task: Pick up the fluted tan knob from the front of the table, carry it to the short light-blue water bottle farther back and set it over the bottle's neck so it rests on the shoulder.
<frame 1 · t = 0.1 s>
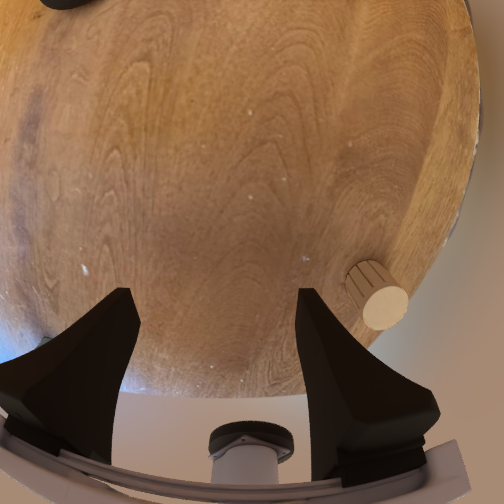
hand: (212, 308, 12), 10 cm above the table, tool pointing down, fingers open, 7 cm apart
fluted tan knob: (365, 280, 22), on the table
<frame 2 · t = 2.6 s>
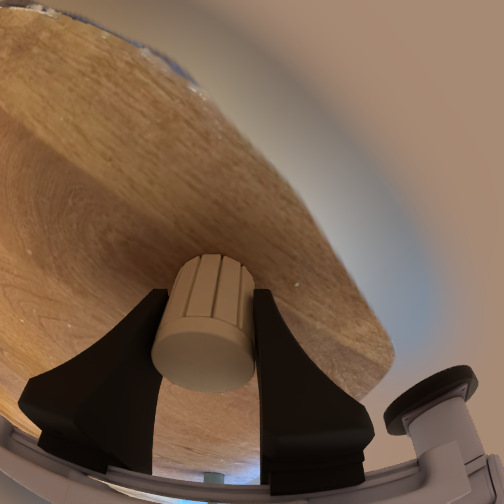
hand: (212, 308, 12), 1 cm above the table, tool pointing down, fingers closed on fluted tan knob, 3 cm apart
bottle: (214, 474, 30), on the table
fluted tan knob: (215, 287, 13), on the table, touching gripper
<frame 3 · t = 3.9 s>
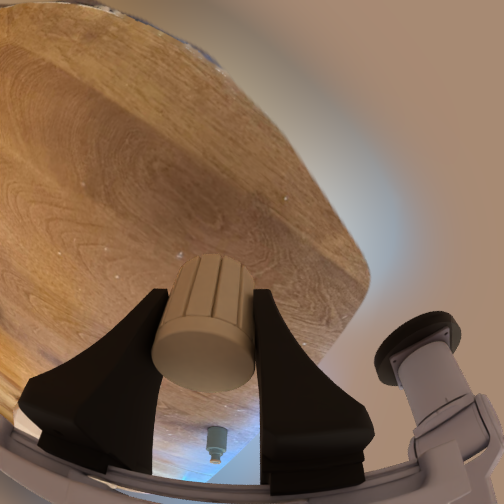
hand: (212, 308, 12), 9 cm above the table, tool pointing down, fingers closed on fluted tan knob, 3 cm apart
bottle: (217, 430, 35), on the table
fluted tan knob: (215, 287, 13), point 7 cm above the table, touching gripper
crystal: (60, 426, 43), on the table
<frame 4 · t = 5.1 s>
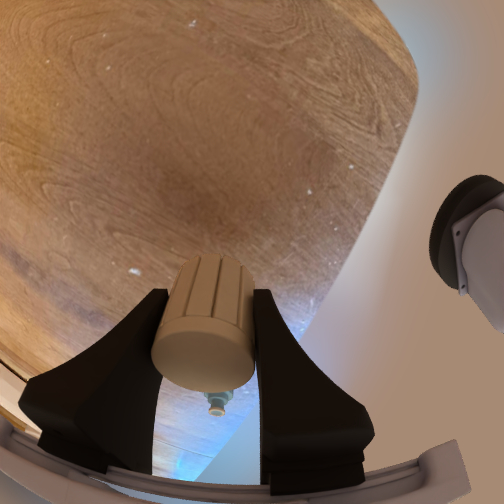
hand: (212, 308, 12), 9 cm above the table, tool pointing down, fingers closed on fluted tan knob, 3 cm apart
bottle: (220, 367, 28), on the table
fluted tan knob: (215, 287, 13), point 7 cm above the table, touching gripper
crystal: (30, 388, 36), on the table
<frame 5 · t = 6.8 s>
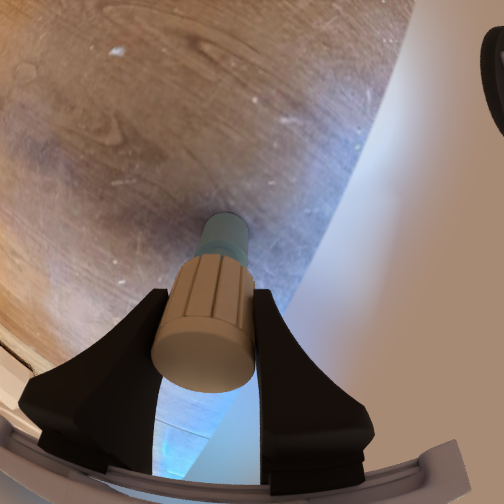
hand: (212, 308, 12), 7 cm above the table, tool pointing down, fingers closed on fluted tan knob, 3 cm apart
bottle: (226, 233, 18), on the table
fluted tan knob: (215, 287, 13), point 6 cm above the table, touching gripper
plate: (38, 425, 44), on the table
when the fingers open (5 cm above the table, at t = 7.8 s): fluted tan knob stays where it is, resting on bottle.
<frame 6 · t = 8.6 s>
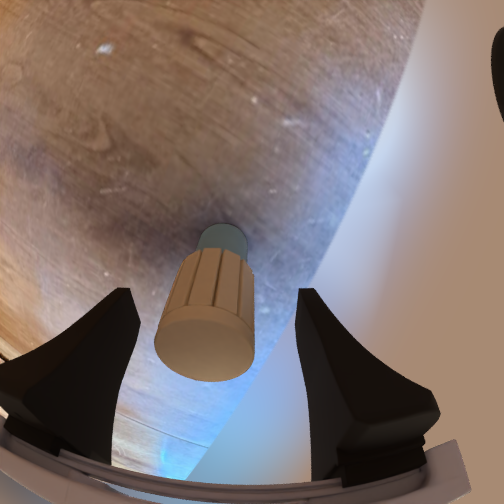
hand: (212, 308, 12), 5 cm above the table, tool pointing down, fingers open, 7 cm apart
bottle: (223, 245, 16), on the table
fluted tan knob: (215, 280, 13), point 3 cm above the table, touching bottle
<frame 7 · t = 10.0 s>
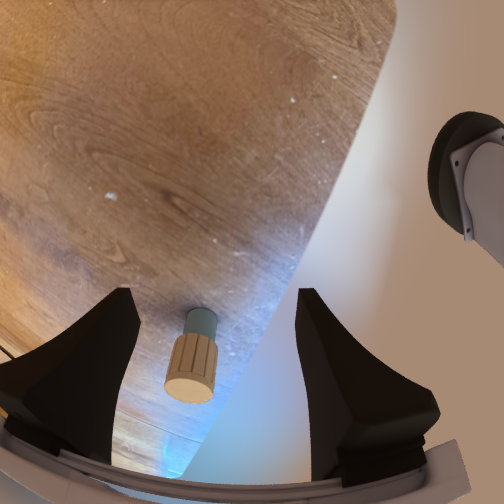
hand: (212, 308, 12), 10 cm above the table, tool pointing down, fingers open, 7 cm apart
bottle: (202, 319, 25), on the table
fluted tan knob: (196, 347, 22), point 3 cm above the table, touching bottle
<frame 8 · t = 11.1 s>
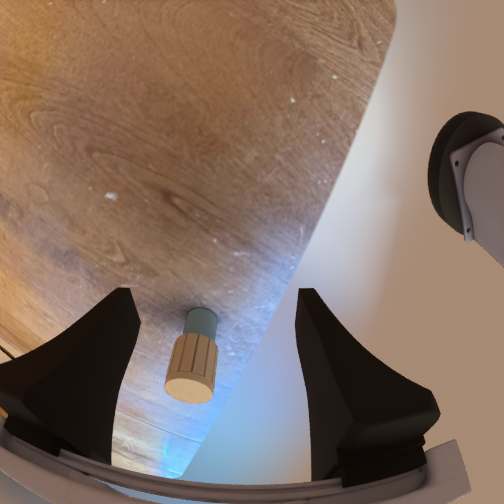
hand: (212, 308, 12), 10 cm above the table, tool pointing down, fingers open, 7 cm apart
bottle: (202, 319, 25), on the table
fluted tan knob: (196, 347, 22), point 3 cm above the table, touching bottle
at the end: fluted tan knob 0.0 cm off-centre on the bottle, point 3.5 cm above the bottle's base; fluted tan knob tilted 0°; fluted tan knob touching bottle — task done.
